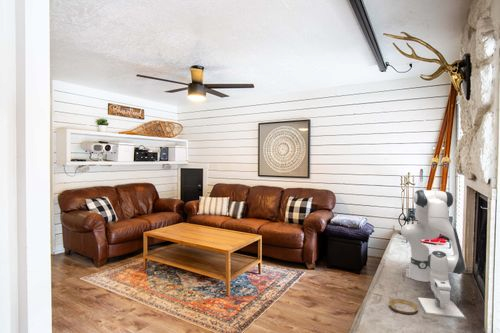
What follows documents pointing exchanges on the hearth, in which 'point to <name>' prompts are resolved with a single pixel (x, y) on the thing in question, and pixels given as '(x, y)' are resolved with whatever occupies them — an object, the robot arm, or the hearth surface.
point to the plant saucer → (402, 303)
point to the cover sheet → (433, 307)
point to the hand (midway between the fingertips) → (439, 304)
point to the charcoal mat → (440, 315)
